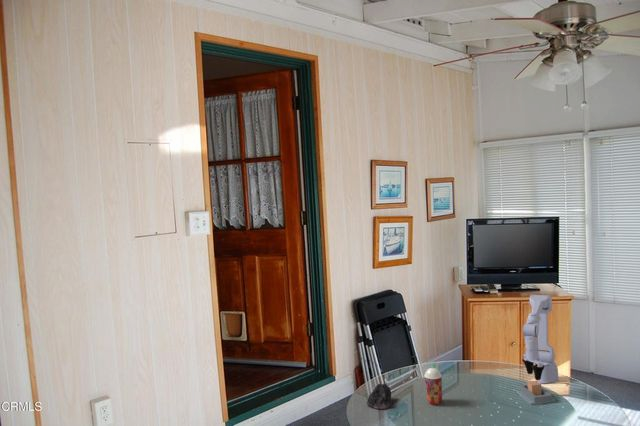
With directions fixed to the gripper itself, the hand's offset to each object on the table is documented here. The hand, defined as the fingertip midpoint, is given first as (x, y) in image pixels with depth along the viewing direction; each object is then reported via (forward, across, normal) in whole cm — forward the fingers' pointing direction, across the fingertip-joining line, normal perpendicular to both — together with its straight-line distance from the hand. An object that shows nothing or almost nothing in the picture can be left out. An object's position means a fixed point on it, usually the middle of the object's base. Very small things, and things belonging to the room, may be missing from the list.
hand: (534, 376), depth 247 cm
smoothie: (+10, -7, -47) cm, 49 cm away
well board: (+10, 0, 0) cm, 10 cm away
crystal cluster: (+10, -14, -73) cm, 75 cm away
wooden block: (+9, 0, 0) cm, 9 cm away
